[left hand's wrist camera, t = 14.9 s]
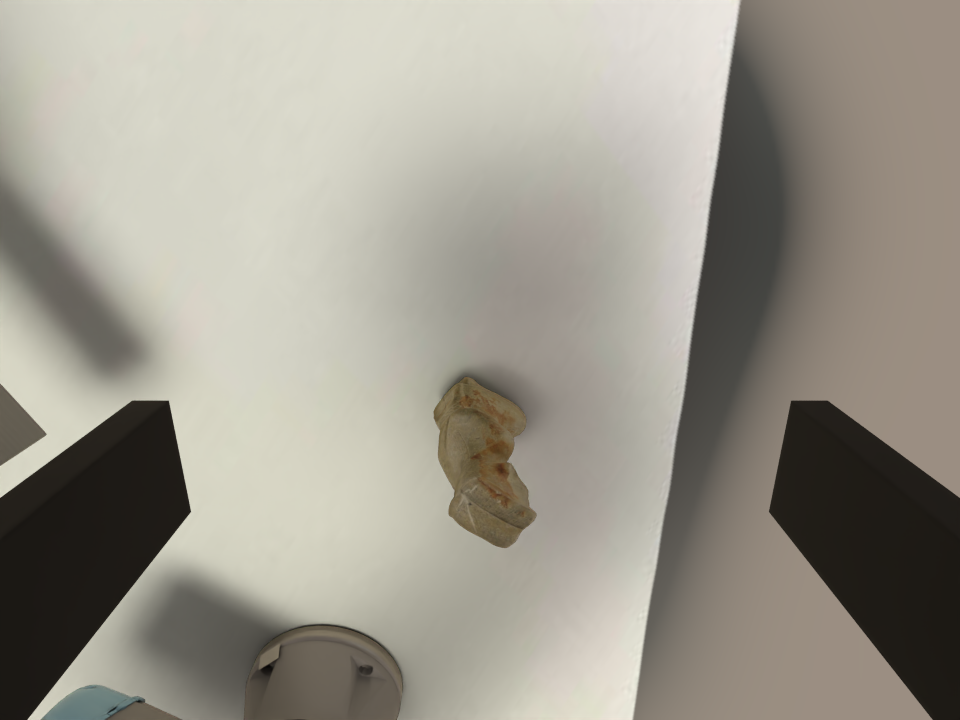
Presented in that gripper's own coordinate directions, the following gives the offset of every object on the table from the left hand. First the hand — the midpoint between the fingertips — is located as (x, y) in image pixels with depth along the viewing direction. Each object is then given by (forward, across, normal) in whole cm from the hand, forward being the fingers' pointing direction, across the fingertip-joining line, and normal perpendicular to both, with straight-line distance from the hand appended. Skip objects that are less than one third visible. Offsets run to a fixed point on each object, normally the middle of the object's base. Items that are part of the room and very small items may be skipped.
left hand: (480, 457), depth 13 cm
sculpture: (+34, 0, +14) cm, 37 cm away
